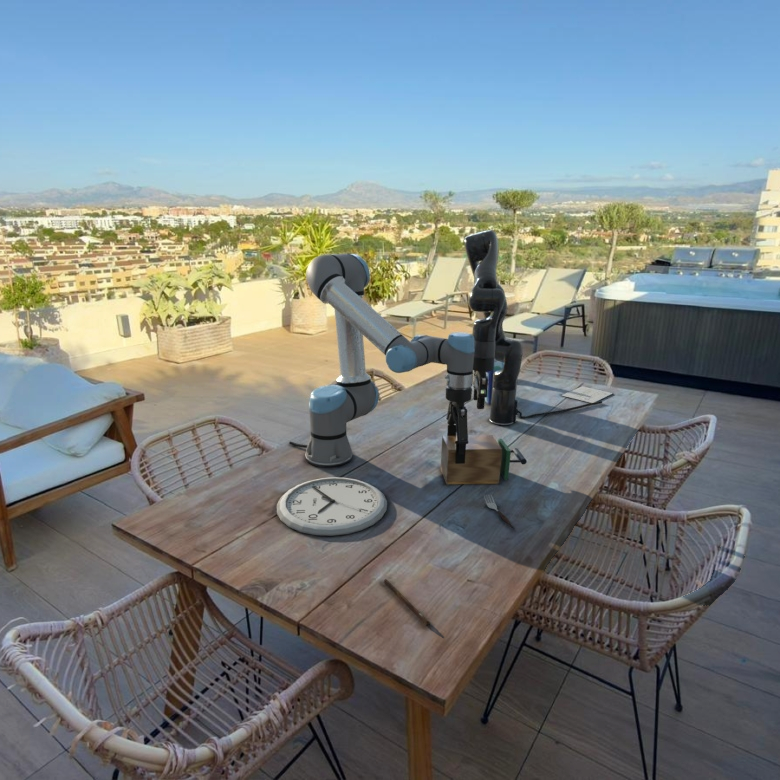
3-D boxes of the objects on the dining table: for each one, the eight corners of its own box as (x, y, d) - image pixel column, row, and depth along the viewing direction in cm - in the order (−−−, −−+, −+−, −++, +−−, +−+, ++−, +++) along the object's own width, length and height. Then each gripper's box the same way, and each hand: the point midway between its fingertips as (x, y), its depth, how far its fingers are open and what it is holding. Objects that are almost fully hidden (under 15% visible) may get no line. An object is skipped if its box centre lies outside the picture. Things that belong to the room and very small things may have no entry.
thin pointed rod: (383, 582, 112) (383, 578, 112) (385, 582, 112) (385, 578, 112) (426, 626, 100) (426, 621, 100) (428, 625, 100) (428, 620, 100)
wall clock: (392, 527, 129) (268, 531, 127) (391, 533, 130) (269, 537, 127) (383, 473, 158) (282, 475, 155) (383, 478, 158) (282, 480, 156)
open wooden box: (489, 467, 167) (492, 435, 164) (499, 483, 157) (502, 449, 153) (440, 468, 166) (442, 435, 162) (446, 484, 156) (448, 449, 152)
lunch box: (475, 390, 246) (478, 346, 240) (498, 390, 246) (501, 347, 240) (484, 408, 221) (487, 360, 215) (509, 409, 221) (513, 360, 215)
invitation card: (582, 386, 254) (612, 393, 244) (582, 386, 255) (612, 393, 244) (561, 395, 240) (592, 402, 230) (561, 395, 240) (592, 403, 230)
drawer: (516, 465, 167) (518, 438, 164) (525, 479, 158) (528, 450, 155) (453, 466, 165) (455, 439, 162) (459, 480, 156) (461, 451, 153)
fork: (509, 531, 131) (510, 524, 131) (482, 501, 146) (482, 494, 145) (519, 530, 132) (519, 523, 132) (491, 499, 147) (491, 493, 146)
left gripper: (439, 375, 164) (436, 437, 170) (454, 400, 140) (450, 472, 146) (462, 374, 164) (459, 437, 171) (482, 399, 141) (477, 471, 147)
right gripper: (467, 348, 167) (464, 397, 172) (472, 359, 153) (469, 411, 158) (491, 349, 167) (487, 397, 172) (498, 360, 153) (494, 412, 158)
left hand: (455, 453), depth 158 cm, fingers open, 13 cm apart
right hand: (478, 404), depth 165 cm, fingers open, 8 cm apart
